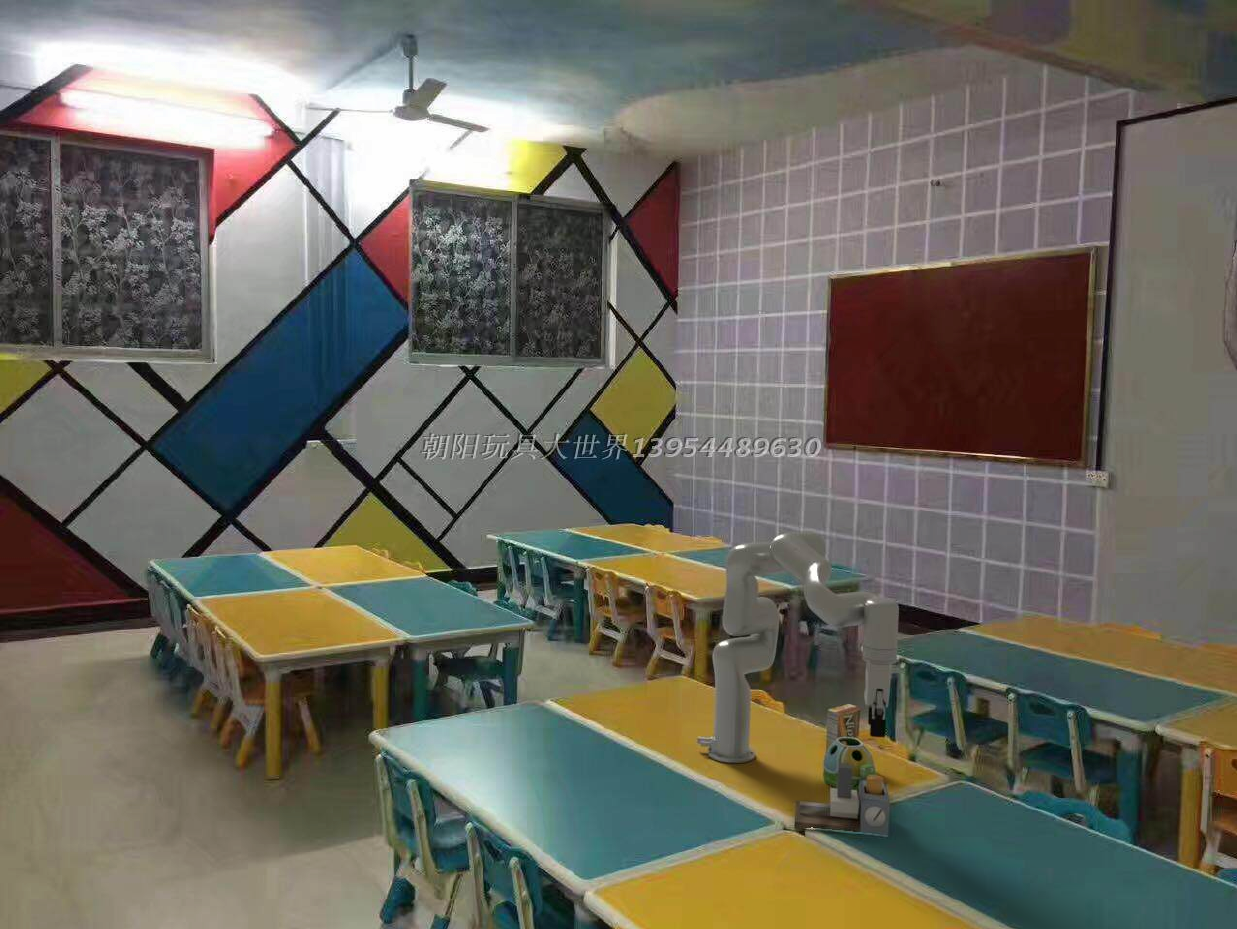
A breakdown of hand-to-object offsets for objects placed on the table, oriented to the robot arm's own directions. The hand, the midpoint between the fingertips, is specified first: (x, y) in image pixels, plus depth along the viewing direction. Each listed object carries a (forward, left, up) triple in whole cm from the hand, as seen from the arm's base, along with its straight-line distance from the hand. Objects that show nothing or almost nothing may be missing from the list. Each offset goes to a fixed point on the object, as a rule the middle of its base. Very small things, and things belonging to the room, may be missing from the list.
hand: (876, 730), depth 234 cm
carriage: (-7, 0, -20) cm, 21 cm away
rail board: (-10, 0, -22) cm, 24 cm away
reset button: (0, 0, -15) cm, 15 cm away
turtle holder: (-4, +20, -22) cm, 30 cm away
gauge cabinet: (0, 0, -22) cm, 22 cm away
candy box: (-6, +37, -22) cm, 44 cm away
